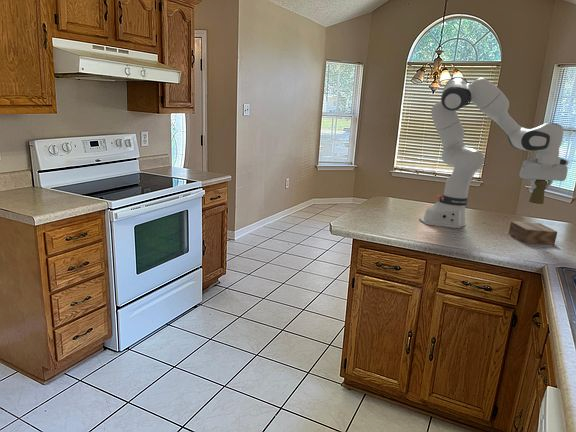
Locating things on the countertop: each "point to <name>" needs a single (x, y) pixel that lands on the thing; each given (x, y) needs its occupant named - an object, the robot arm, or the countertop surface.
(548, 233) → the walnut block
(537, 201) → the cork
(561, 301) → the countertop surface
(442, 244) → the countertop surface
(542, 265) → the countertop surface
